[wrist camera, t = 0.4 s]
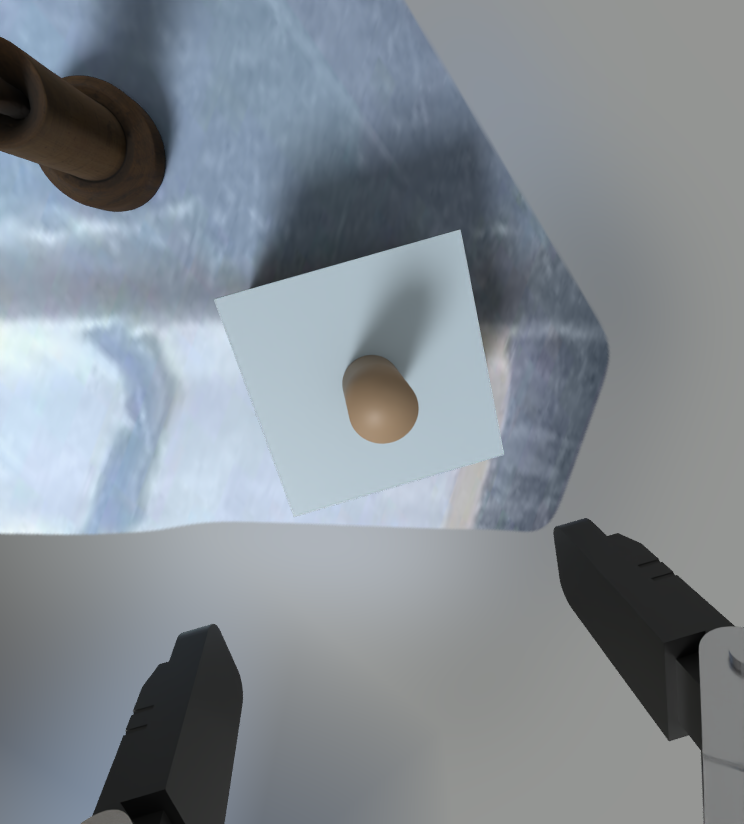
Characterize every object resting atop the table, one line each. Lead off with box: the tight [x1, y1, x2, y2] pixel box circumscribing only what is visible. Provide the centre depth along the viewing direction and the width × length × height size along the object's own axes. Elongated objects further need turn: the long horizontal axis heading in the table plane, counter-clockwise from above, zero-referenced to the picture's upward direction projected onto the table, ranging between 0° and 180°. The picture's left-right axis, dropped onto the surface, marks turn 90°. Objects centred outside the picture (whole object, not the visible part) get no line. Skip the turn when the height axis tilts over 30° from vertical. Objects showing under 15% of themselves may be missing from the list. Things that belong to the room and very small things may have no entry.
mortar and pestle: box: [0, 37, 166, 212], centre depth 20 cm, size 7×6×18 cm
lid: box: [214, 230, 504, 517], centre depth 25 cm, size 13×13×6 cm
